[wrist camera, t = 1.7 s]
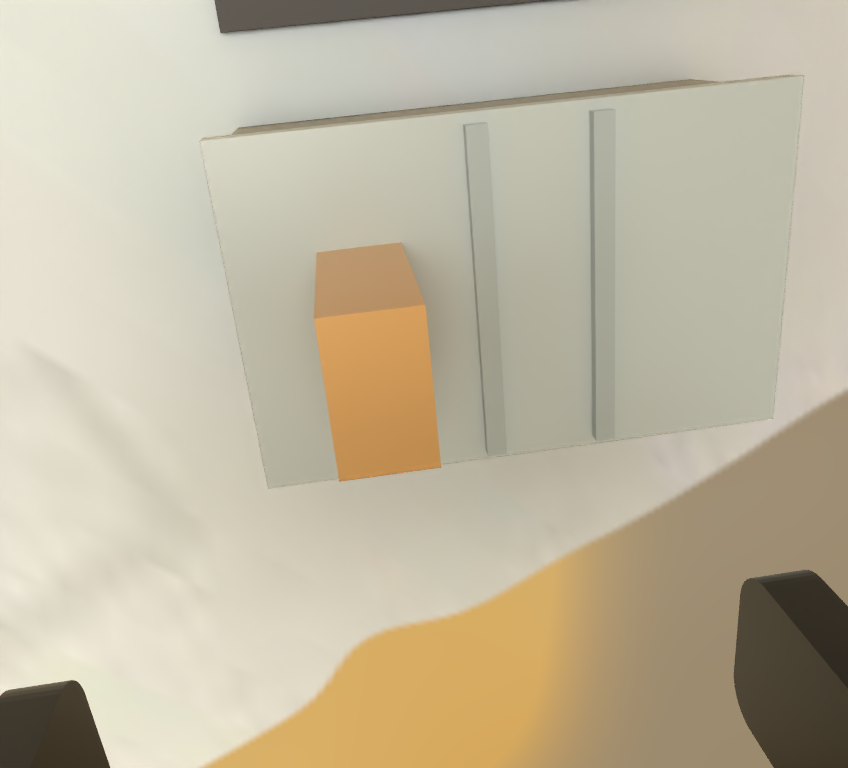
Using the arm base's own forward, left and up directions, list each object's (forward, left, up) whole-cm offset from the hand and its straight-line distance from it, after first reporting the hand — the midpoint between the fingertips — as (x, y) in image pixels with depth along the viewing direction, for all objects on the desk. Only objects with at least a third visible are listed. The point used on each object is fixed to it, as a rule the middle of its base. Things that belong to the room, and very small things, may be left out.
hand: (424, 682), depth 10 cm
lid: (-5, 0, -17) cm, 17 cm away
